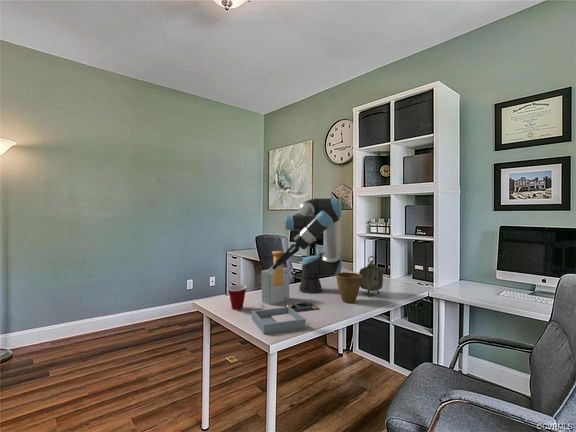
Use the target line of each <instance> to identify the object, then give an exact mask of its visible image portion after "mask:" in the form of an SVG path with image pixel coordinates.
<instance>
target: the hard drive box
mask: <svg viewBox="0 0 576 432" xmlns="http://www.w3.org/2000/svg"><path fill="white" fill-rule="evenodd" d="M267 270H268V269H265V270H261V303H263V304H266V305H269V306H271V305H276V304H279V303H282V302H286V301H290V268H289V267H288V268H287V267H283V286H274V273H273V274H272V275H270V274H269V273H268V272H267Z"/></svg>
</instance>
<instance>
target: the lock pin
mask: <svg viewBox="0 0 576 432" xmlns="http://www.w3.org/2000/svg"><path fill="white" fill-rule="evenodd" d="M271 254H272V255H273V264H274V263H276V261H275V260H278V259H279V258H280V257H282V256H283V255H284V254H285V251H283V250H274V251H271ZM283 268H284V264H283V263H282V264H281V266H280V267H279V268H278V269H277V270H276V271H275V272H274V286H283Z"/></svg>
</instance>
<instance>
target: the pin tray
mask: <svg viewBox="0 0 576 432" xmlns="http://www.w3.org/2000/svg"><path fill="white" fill-rule="evenodd" d="M286 313H288V315H289V316H291V317H292V318H293V319H290V320H284V321H283V320H282V321H277V320H275V318H274V317H273V315H279V314H286ZM271 315H272V316H271ZM251 320H252V322H253V323H254V324H255V325H256V327H257V328H258V329H259V330H260V331H261V333H263V335H268V334H275V333H280V332H281V333H283V332H287V331H294V330H295V331H296V330H300V329H305V328H306V318H304V317H303V316H302V315H301V314H299V312H295V311H294V310H293V309H291V308H290V307H285V306H282V307H275V308H268V309H265V308H264V309H260V310H251Z"/></svg>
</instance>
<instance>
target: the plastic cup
mask: <svg viewBox="0 0 576 432" xmlns="http://www.w3.org/2000/svg"><path fill="white" fill-rule="evenodd" d="M247 287H248V286H247V285H245V284H235V285H229V286H228V287H227V288H226V290H227V292H228V294H229V299H230V304H231V305H230V306H231V310H234V311H241V310H243V309H244V302H245V297H246V296H245V295H246V291H247Z"/></svg>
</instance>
